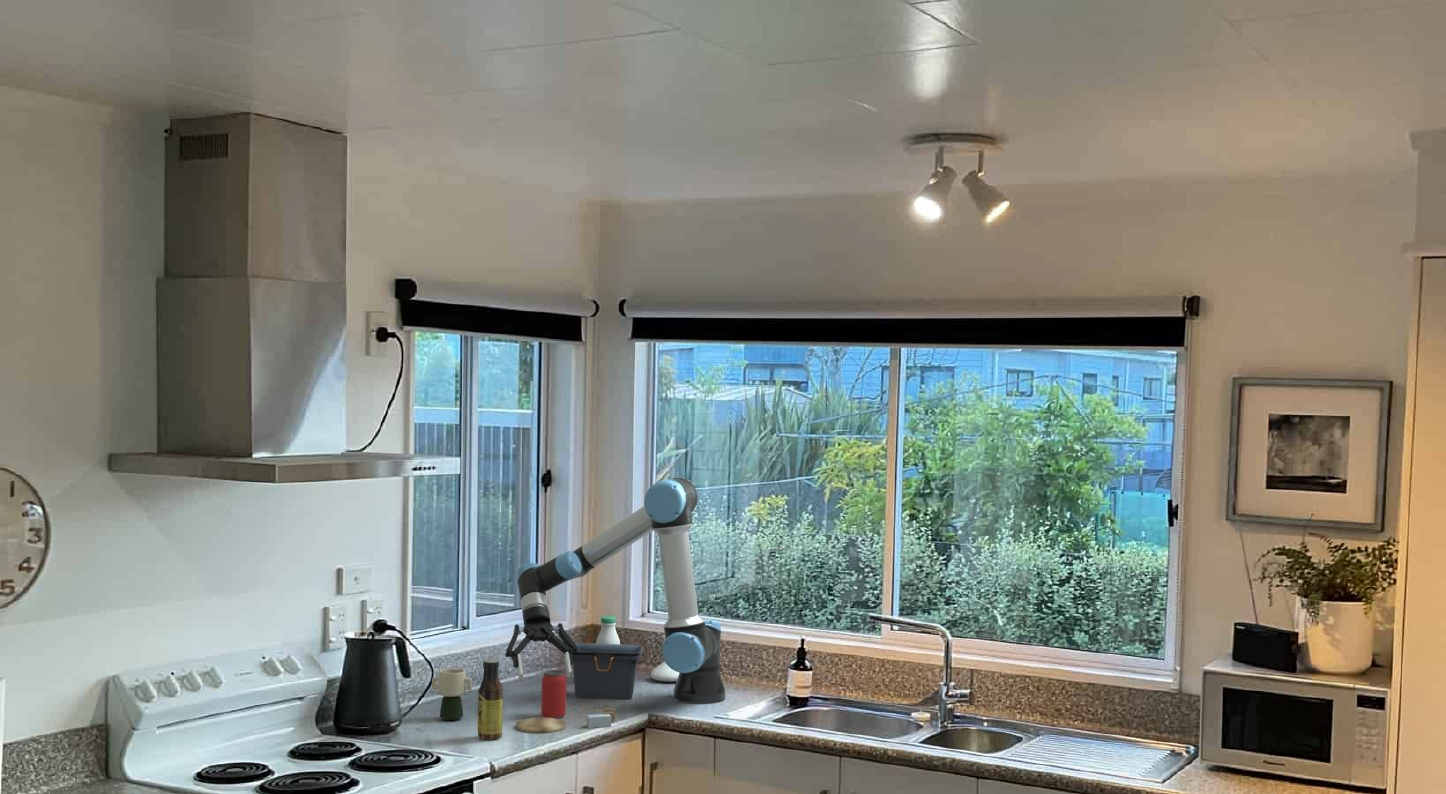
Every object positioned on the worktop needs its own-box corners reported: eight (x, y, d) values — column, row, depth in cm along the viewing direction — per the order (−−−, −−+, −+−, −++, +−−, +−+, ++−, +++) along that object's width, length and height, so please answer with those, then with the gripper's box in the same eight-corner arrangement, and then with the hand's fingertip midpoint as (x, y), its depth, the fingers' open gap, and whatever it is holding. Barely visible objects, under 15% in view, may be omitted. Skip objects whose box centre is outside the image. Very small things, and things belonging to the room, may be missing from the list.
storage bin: (642, 691, 408) (643, 643, 408) (640, 703, 393) (641, 653, 393) (570, 690, 408) (571, 642, 408) (565, 702, 392) (566, 651, 392)
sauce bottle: (480, 734, 353) (481, 657, 353) (504, 735, 353) (505, 657, 353) (474, 740, 346) (476, 662, 346) (499, 741, 346) (501, 662, 346)
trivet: (559, 719, 370) (559, 716, 370) (570, 731, 358) (570, 727, 358) (511, 722, 366) (511, 719, 366) (521, 734, 354) (521, 730, 354)
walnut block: (604, 718, 374) (604, 707, 374) (615, 719, 374) (615, 708, 374) (601, 724, 368) (601, 712, 368) (612, 724, 368) (613, 713, 368)
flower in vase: (657, 685, 417) (659, 602, 417) (645, 677, 428) (647, 597, 428) (697, 682, 422) (699, 601, 422) (685, 675, 433) (686, 596, 433)
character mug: (474, 716, 372) (475, 668, 372) (468, 722, 365) (469, 673, 365) (434, 715, 373) (435, 667, 373) (427, 721, 366) (428, 672, 366)
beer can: (561, 719, 371) (562, 675, 371) (537, 718, 372) (538, 673, 372) (568, 714, 377) (569, 670, 377) (545, 712, 378) (546, 669, 378)
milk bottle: (594, 679, 423) (595, 614, 423) (619, 679, 424) (620, 614, 424) (594, 685, 416) (596, 618, 416) (620, 684, 417) (621, 619, 417)
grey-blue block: (608, 724, 367) (608, 713, 367) (611, 727, 364) (611, 716, 364) (586, 726, 365) (586, 714, 365) (589, 728, 362) (589, 717, 362)
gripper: (575, 618, 400) (586, 680, 386) (490, 621, 392) (498, 684, 378) (580, 603, 395) (592, 665, 381) (494, 605, 387) (502, 669, 373)
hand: (545, 675), depth 379 cm, fingers open, 13 cm apart
